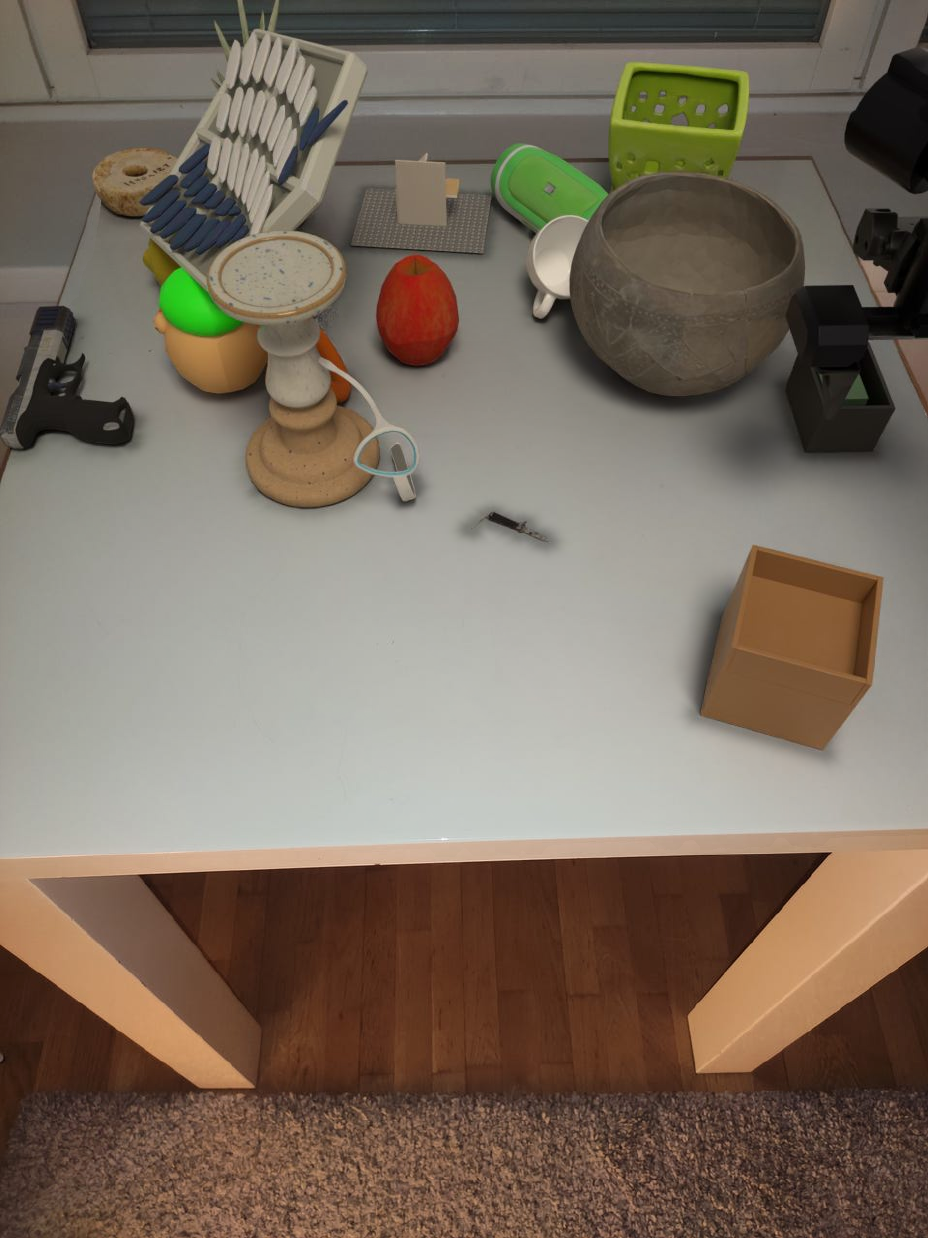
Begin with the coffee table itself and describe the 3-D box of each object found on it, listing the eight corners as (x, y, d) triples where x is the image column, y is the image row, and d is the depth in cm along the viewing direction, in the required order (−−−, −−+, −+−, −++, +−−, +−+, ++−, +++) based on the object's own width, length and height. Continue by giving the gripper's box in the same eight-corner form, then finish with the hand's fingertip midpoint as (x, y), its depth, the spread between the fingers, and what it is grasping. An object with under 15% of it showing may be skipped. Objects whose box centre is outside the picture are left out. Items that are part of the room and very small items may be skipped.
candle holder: (313, 393, 89) (278, 202, 73) (407, 452, 85) (392, 262, 68) (219, 465, 84) (157, 277, 67) (314, 531, 80) (273, 347, 63)
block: (844, 400, 88) (857, 369, 85) (854, 428, 86) (868, 398, 83) (805, 401, 88) (817, 370, 85) (814, 429, 86) (827, 399, 83)
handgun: (130, 449, 86) (1, 456, 85) (155, 318, 97) (41, 324, 96) (120, 425, 83) (-13, 432, 83) (147, 293, 94) (29, 299, 94)
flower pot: (725, 180, 110) (753, 69, 99) (716, 249, 102) (745, 136, 92) (610, 166, 111) (625, 55, 101) (592, 232, 104) (607, 120, 93)
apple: (474, 361, 92) (475, 268, 83) (402, 389, 90) (394, 297, 81) (436, 315, 96) (433, 222, 87) (365, 341, 94) (355, 248, 85)
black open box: (873, 451, 85) (896, 408, 81) (804, 453, 85) (824, 409, 81) (849, 386, 90) (869, 341, 85) (784, 387, 90) (801, 343, 85)
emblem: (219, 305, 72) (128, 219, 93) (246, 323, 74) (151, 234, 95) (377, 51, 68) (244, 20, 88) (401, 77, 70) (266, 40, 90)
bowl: (813, 372, 91) (868, 236, 78) (663, 466, 84) (697, 334, 71) (666, 269, 100) (694, 133, 88) (519, 346, 93) (527, 210, 81)
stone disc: (204, 195, 109) (158, 166, 113) (196, 164, 106) (149, 135, 110) (129, 230, 104) (84, 198, 109) (118, 199, 101) (73, 168, 106)
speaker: (628, 195, 93) (578, 254, 94) (648, 235, 99) (600, 289, 101) (521, 123, 101) (476, 178, 102) (546, 164, 107) (503, 215, 109)
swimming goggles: (310, 363, 72) (375, 338, 71) (320, 352, 80) (379, 330, 79) (377, 525, 77) (438, 502, 77) (380, 500, 85) (436, 480, 84)
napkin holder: (401, 205, 107) (397, 143, 101) (460, 209, 107) (459, 146, 100) (397, 223, 105) (393, 160, 99) (457, 226, 105) (456, 163, 98)
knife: (537, 559, 79) (553, 534, 80) (537, 557, 78) (553, 531, 80) (471, 529, 80) (487, 505, 82) (471, 527, 80) (487, 502, 81)
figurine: (297, 366, 92) (276, 262, 82) (238, 426, 87) (209, 323, 77) (208, 330, 95) (177, 225, 85) (146, 386, 90) (106, 282, 80)
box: (836, 650, 73) (883, 577, 65) (823, 750, 68) (872, 685, 60) (721, 619, 75) (752, 544, 67) (700, 715, 70) (731, 646, 62)
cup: (597, 248, 98) (619, 237, 92) (559, 336, 99) (578, 331, 93) (534, 214, 96) (552, 200, 90) (496, 305, 97) (511, 297, 91)
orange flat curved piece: (333, 362, 93) (232, 255, 82) (347, 353, 93) (246, 244, 81) (346, 424, 87) (239, 318, 76) (361, 415, 87) (254, 307, 76)
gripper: (1077, 157, 62) (974, 344, 75) (802, 161, 62) (746, 347, 75) (1148, 255, 56) (1022, 441, 68) (841, 260, 56) (773, 444, 69)
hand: (886, 414), depth 70 cm, fingers open, 9 cm apart
